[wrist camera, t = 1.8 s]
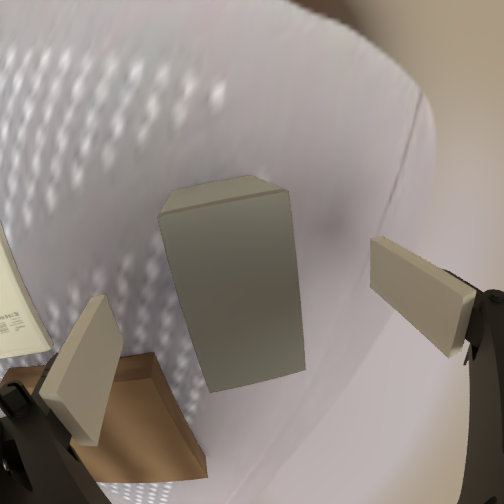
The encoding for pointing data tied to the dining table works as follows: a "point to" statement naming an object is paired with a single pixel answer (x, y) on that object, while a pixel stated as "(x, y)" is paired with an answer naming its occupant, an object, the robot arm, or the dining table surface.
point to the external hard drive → (18, 311)
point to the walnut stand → (135, 427)
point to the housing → (236, 279)
